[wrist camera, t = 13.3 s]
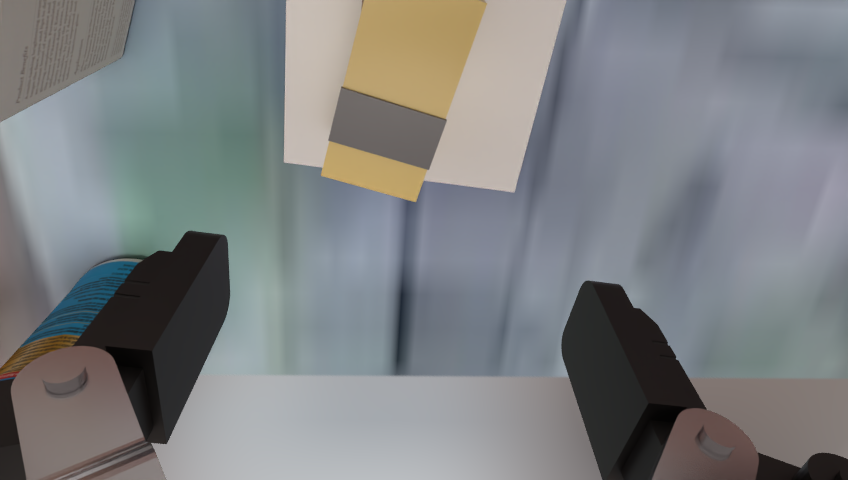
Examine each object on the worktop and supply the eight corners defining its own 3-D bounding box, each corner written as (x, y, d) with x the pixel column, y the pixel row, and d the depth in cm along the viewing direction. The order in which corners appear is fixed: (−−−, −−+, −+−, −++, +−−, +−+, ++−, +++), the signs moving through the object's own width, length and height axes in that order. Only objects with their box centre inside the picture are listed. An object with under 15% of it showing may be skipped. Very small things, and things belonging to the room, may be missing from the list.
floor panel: (573, -44, 25) (578, -42, 24) (512, 186, 31) (514, 193, 30) (291, -94, 23) (287, -93, 23) (286, 156, 30) (283, 163, 29)
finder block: (475, -13, 25) (488, 4, 20) (416, 159, 29) (416, 204, 25) (379, -48, 24) (371, -38, 19) (333, 135, 28) (319, 176, 24)
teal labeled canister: (230, 286, 34) (54, 652, 18) (189, 367, 38) (12, 733, 21) (95, 230, 32) (-260, 592, 15) (66, 323, 36) (-244, 695, 19)
